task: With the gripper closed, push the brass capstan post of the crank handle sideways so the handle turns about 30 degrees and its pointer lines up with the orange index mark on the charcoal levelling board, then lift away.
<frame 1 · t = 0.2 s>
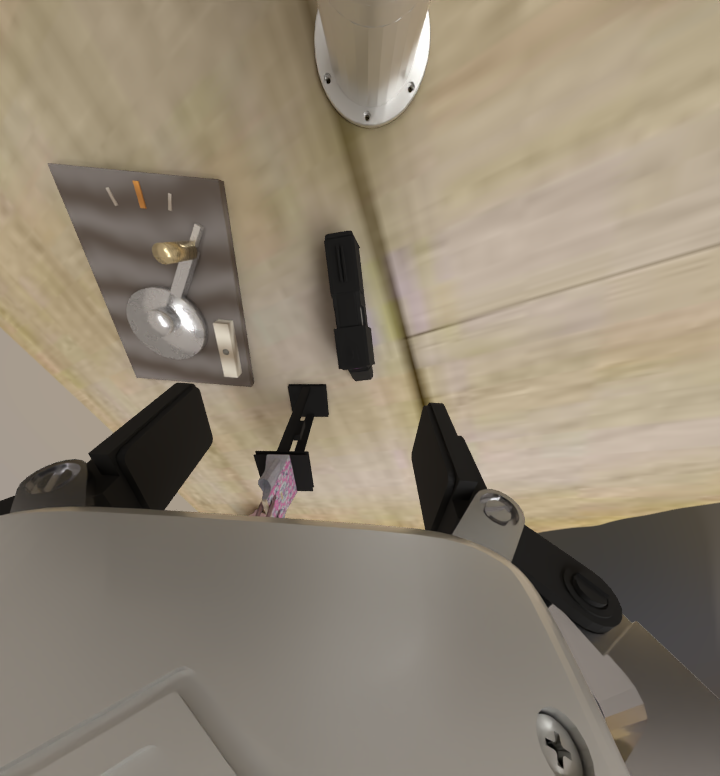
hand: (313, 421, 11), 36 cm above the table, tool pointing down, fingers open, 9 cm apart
handbag: (309, 399, 55), on the table
level board: (175, 295, 44), on the table
toy: (354, 310, 45), on the table
crank handle: (165, 300, 39), point 5 cm above the table, hinge at -30.0°
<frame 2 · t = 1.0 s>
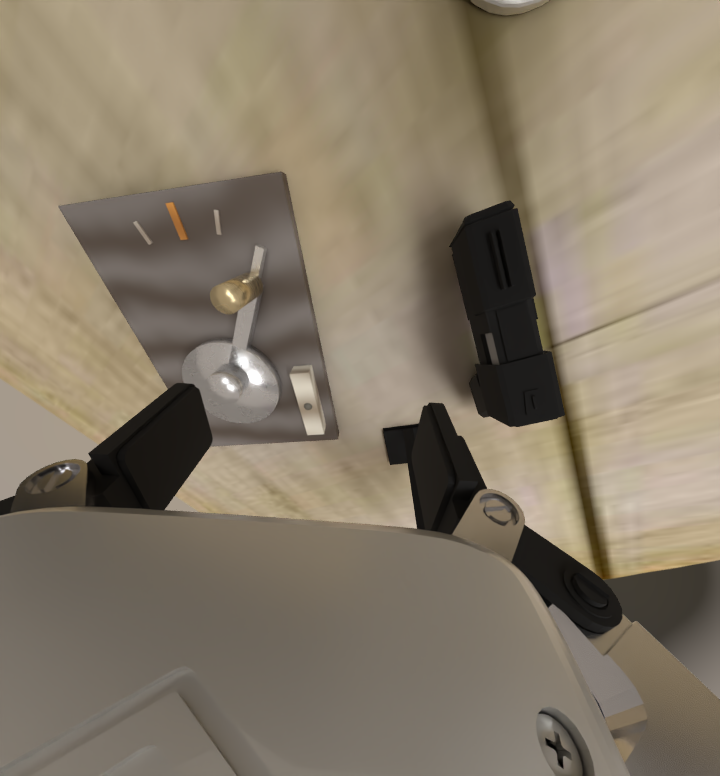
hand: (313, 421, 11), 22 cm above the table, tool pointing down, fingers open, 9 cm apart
handbag: (409, 441, 42), on the table
level board: (235, 344, 34), on the table
toy: (475, 321, 31), on the table
crank handle: (230, 358, 29), point 5 cm above the table, hinge at -30.0°
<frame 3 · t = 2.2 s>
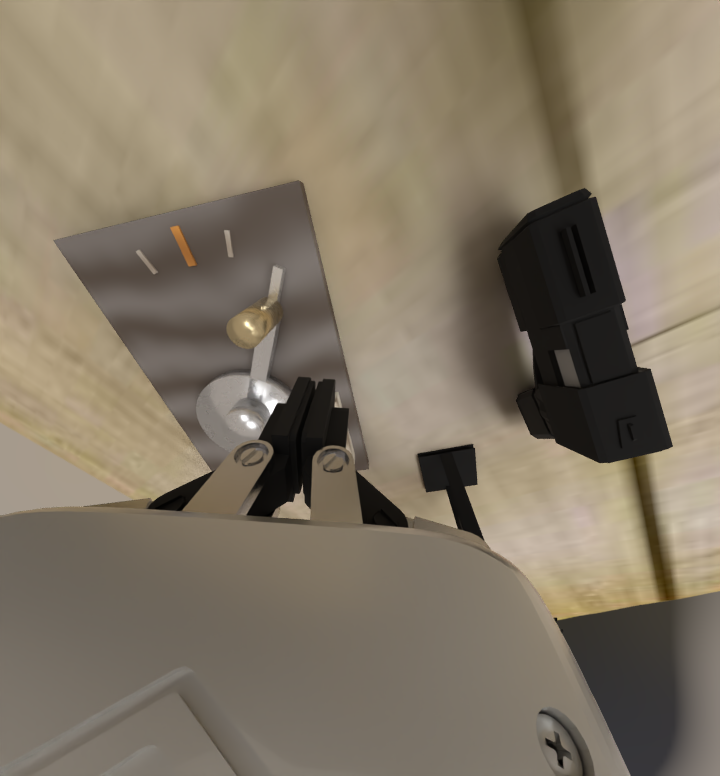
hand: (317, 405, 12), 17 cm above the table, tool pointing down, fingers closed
handbag: (447, 466, 38), on the table
level board: (252, 375, 31), on the table
toy: (523, 331, 27), on the table
crank handle: (249, 393, 26), point 5 cm above the table, hinge at -30.0°
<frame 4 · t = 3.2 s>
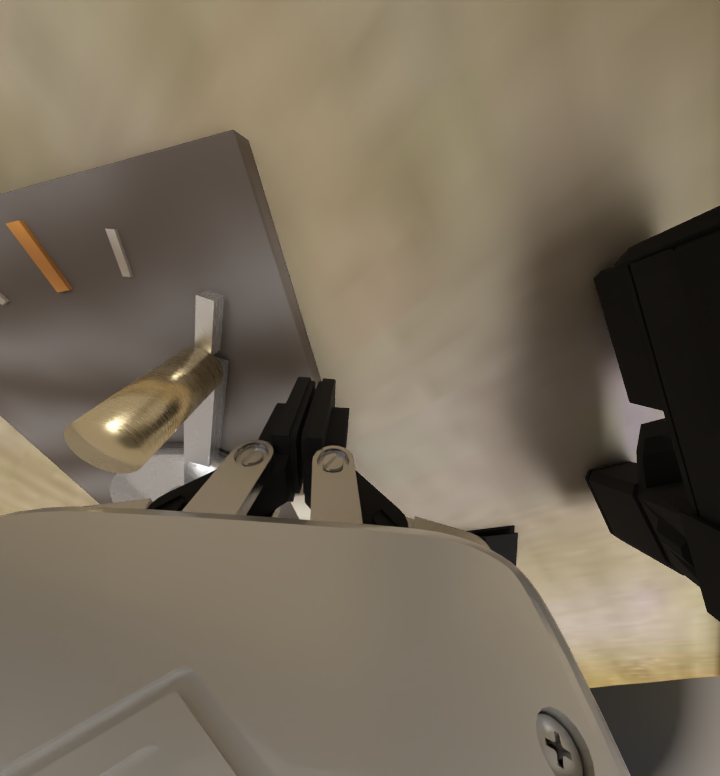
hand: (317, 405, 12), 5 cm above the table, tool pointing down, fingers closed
handbag: (475, 547, 28), on the table
level board: (199, 442, 21), on the table
toy: (612, 387, 18), on the table
crank handle: (176, 495, 16), point 5 cm above the table, hinge at -30.0°
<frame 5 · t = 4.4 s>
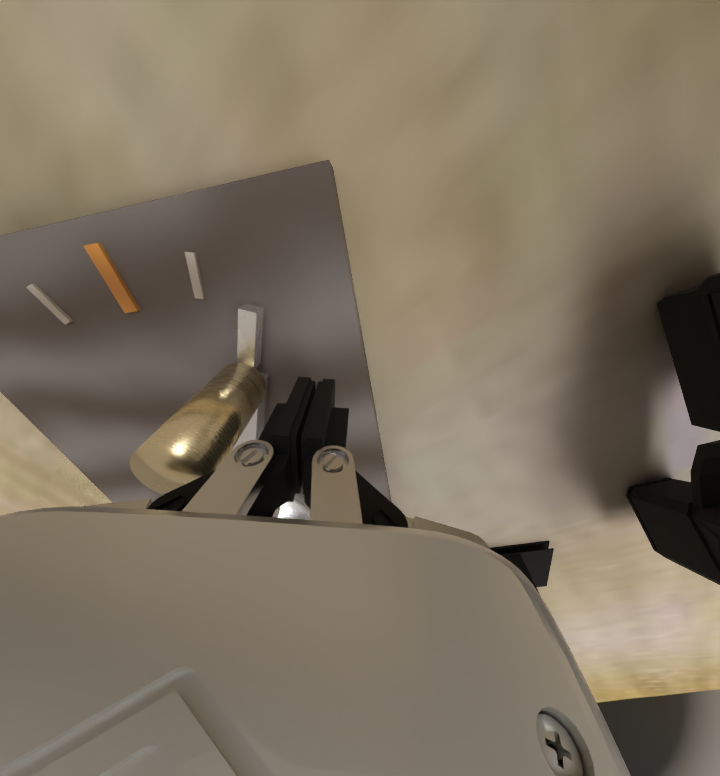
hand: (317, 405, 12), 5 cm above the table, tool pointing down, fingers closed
handbag: (507, 562, 28), on the table
level board: (240, 459, 21), on the table
toy: (660, 406, 18), on the table
crank handle: (225, 515, 15), point 5 cm above the table, hinge at -24.0°, touching gripper
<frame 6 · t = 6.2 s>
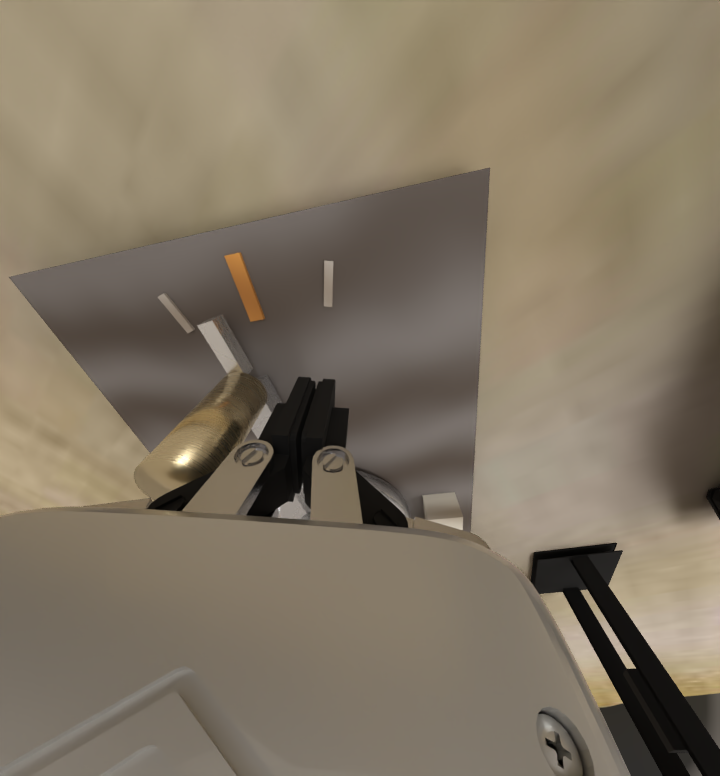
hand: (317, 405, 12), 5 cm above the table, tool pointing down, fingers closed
handbag: (568, 564, 28), on the table
level board: (322, 463, 21), on the table
crank handle: (297, 521, 15), point 5 cm above the table, hinge at 6.4°, touching gripper
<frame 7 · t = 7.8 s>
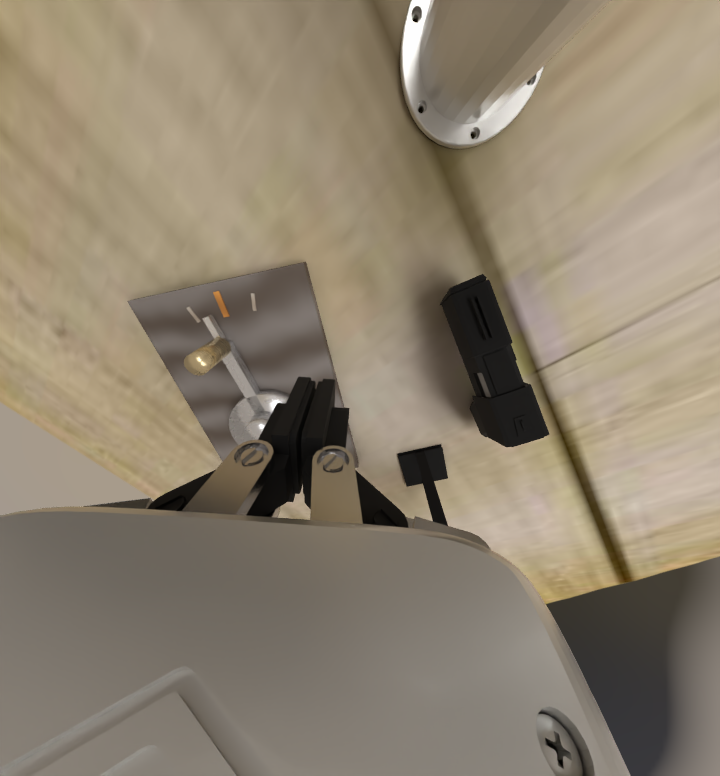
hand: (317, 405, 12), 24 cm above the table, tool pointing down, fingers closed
handbag: (422, 463, 47), on the table
level board: (265, 393, 39), on the table
toy: (468, 356, 37), on the table
crank handle: (246, 407, 34), point 5 cm above the table, hinge at 6.5°
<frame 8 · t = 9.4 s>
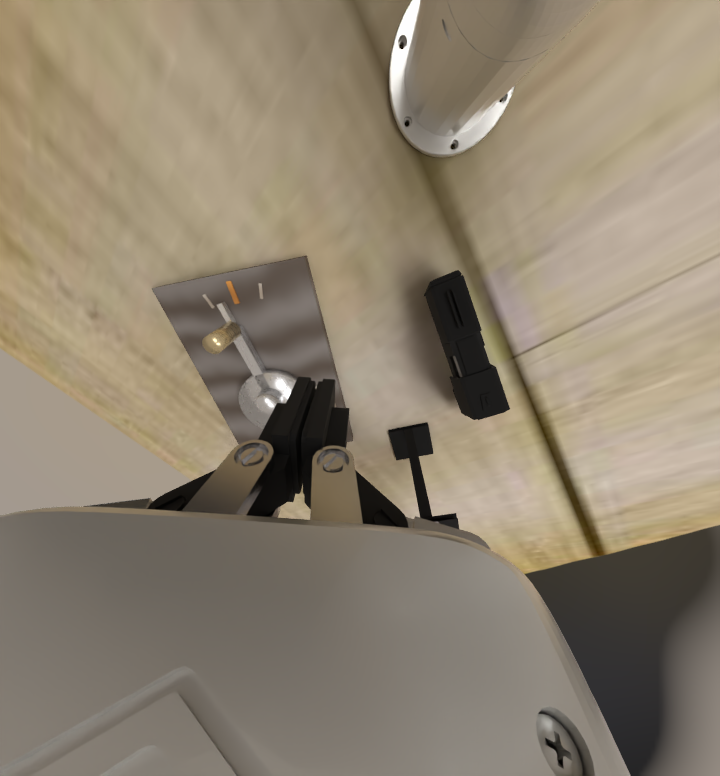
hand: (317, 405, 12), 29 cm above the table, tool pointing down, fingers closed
handbag: (410, 439, 52), on the table
level board: (270, 372, 44), on the table
toy: (451, 343, 41), on the table
crank handle: (254, 383, 39), point 5 cm above the table, hinge at 6.5°
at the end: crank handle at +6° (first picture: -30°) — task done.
